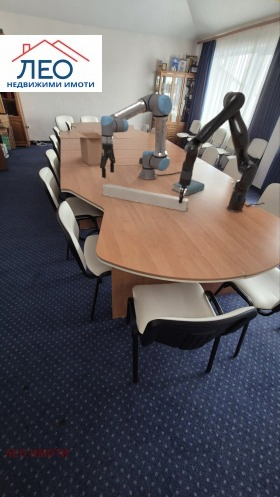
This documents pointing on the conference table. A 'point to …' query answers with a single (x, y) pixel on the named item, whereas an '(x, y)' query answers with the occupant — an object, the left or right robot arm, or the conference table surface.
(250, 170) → the right robot arm
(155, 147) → the left robot arm
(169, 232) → the conference table surface
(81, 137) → the box
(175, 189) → the book
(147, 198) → the bar
